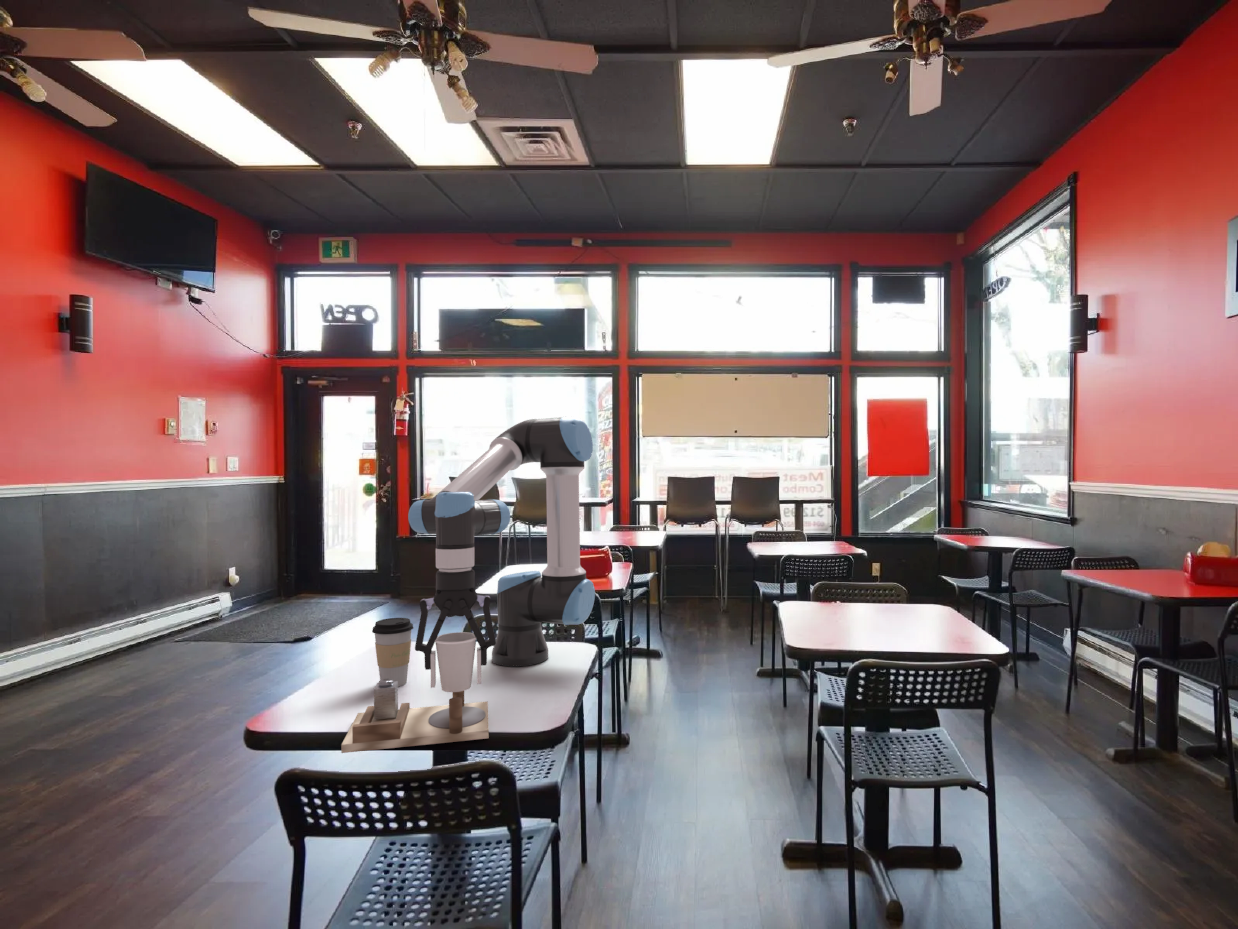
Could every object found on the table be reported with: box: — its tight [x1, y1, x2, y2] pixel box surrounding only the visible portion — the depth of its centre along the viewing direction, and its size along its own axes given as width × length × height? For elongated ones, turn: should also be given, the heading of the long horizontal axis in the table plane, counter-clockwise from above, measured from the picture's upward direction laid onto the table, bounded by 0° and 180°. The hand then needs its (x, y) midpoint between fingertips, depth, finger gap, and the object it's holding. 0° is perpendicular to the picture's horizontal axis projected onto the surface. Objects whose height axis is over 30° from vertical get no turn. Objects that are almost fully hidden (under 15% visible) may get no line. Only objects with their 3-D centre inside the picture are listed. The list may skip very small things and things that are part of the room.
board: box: [340, 691, 490, 754], centre depth 126 cm, size 26×16×8 cm, turn 102°
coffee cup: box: [371, 617, 414, 687], centre depth 155 cm, size 9×9×15 cm
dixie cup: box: [435, 631, 477, 693], centre depth 128 cm, size 8×8×10 cm
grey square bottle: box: [373, 679, 399, 720], centre depth 129 cm, size 4×4×7 cm
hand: (456, 683), depth 128 cm, fingers closed on dixie cup, 8 cm apart
